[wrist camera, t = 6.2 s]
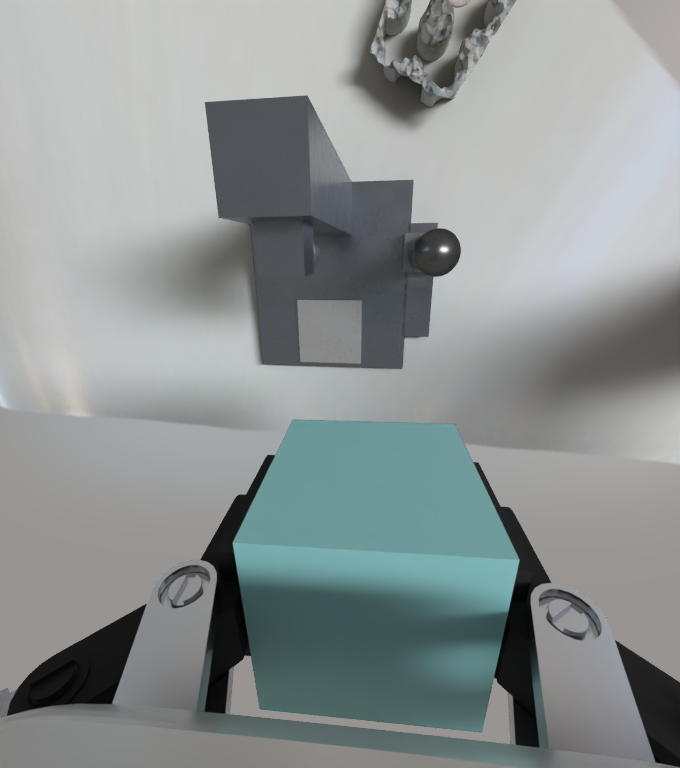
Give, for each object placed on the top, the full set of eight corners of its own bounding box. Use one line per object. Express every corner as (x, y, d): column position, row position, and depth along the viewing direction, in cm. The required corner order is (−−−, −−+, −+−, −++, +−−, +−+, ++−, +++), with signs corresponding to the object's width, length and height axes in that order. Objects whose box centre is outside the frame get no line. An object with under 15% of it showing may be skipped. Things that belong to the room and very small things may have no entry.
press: (439, 181, 29) (512, 82, 12) (424, 366, 34) (459, 474, 18) (251, 187, 31) (86, 109, 14) (266, 361, 36) (162, 454, 20)
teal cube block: (454, 423, 10) (519, 560, 6) (440, 550, 12) (482, 732, 8) (292, 419, 11) (232, 543, 6) (301, 542, 13) (259, 709, 8)
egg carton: (453, -110, 23) (467, -183, 19) (541, -35, 24) (571, -91, 20) (362, 65, 27) (358, 33, 23) (440, 125, 27) (449, 104, 24)
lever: (441, 233, 29) (467, 224, 19) (437, 271, 30) (461, 280, 20) (404, 233, 29) (412, 225, 20) (402, 271, 30) (409, 280, 21)
